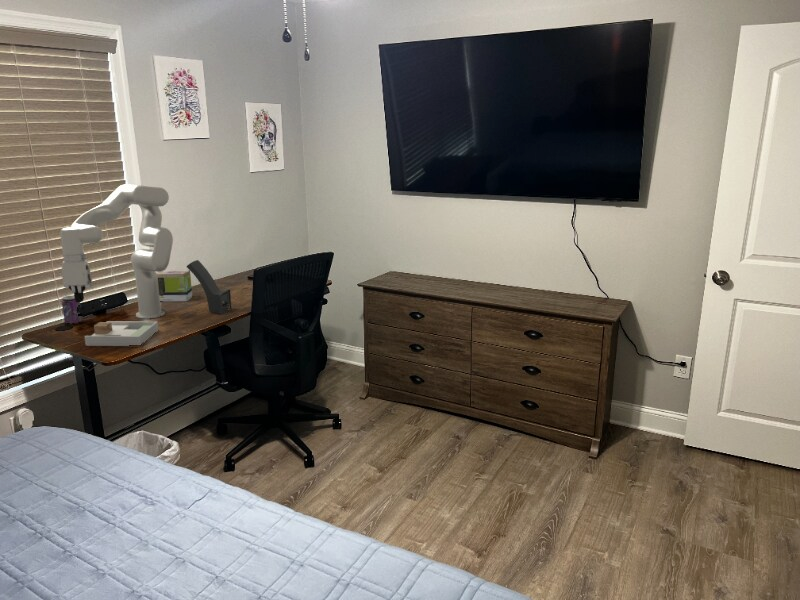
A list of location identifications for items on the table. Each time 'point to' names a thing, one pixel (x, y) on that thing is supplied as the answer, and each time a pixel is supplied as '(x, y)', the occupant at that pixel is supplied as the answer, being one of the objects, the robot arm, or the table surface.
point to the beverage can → (70, 310)
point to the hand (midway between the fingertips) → (79, 301)
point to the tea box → (174, 285)
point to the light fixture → (211, 289)
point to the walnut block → (103, 328)
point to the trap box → (124, 334)
